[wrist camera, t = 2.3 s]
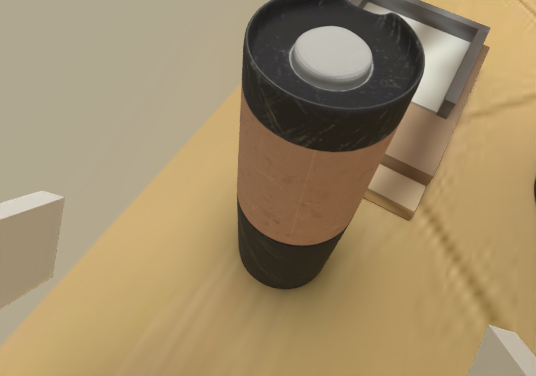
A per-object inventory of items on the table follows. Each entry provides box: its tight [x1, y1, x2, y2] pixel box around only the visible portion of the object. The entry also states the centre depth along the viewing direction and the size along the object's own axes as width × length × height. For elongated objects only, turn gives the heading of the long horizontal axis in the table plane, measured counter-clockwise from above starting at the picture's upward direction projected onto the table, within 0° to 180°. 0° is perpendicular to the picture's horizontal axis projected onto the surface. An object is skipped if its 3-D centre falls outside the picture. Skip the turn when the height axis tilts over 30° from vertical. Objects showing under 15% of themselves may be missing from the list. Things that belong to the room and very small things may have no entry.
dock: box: [349, 0, 490, 220], centre depth 41 cm, size 16×23×5 cm
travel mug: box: [237, 0, 425, 289], centre depth 25 cm, size 8×8×20 cm
